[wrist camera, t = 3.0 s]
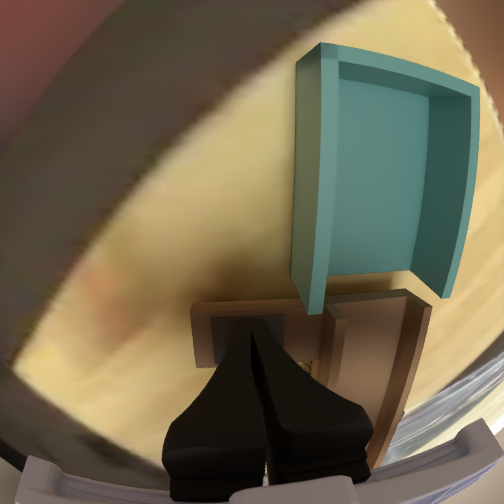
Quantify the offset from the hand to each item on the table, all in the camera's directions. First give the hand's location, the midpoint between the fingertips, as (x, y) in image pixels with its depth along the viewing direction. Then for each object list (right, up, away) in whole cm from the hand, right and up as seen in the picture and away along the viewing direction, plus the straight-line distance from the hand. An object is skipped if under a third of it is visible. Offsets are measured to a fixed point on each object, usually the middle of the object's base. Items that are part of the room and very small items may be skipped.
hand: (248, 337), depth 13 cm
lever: (+3, -7, +3) cm, 9 cm away
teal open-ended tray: (+6, +7, 0) cm, 9 cm away
